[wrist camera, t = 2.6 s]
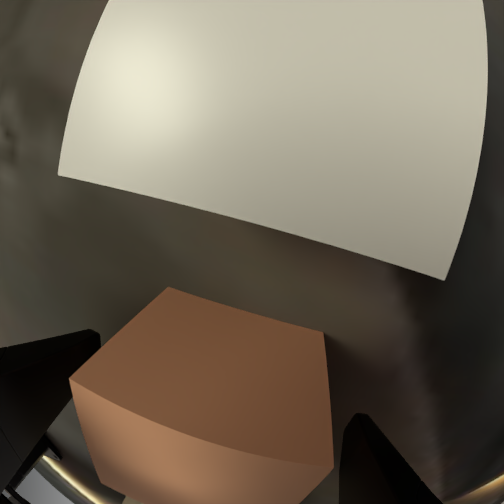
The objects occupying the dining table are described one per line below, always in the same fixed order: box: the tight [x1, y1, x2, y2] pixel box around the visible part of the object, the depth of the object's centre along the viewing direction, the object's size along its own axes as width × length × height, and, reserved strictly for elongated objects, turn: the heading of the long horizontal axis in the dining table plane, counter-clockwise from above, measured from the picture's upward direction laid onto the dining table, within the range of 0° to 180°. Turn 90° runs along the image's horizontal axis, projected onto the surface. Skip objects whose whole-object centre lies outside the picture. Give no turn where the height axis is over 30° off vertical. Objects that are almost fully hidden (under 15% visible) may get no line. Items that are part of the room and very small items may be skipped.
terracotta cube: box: [69, 287, 334, 504], centre depth 7 cm, size 5×5×5 cm
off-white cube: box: [58, 0, 488, 281], centre depth 5 cm, size 5×5×5 cm
